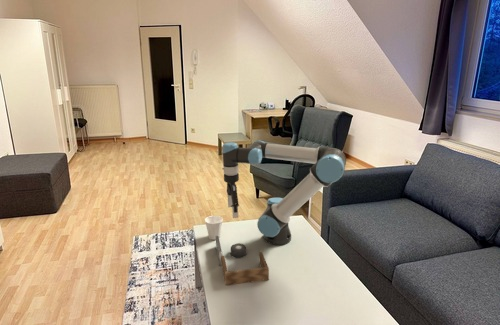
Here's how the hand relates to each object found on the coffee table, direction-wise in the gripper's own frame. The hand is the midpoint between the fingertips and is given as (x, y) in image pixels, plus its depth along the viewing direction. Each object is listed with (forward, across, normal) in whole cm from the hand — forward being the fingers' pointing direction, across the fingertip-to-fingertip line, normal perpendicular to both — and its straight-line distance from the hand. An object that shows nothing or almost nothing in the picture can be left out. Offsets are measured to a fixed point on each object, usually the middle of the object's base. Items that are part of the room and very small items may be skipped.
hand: (233, 212), depth 180 cm
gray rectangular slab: (+18, +10, -10) cm, 23 cm away
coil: (+19, +10, 0) cm, 21 cm away
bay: (+19, +27, 0) cm, 33 cm away
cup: (+18, -10, -10) cm, 23 cm away
